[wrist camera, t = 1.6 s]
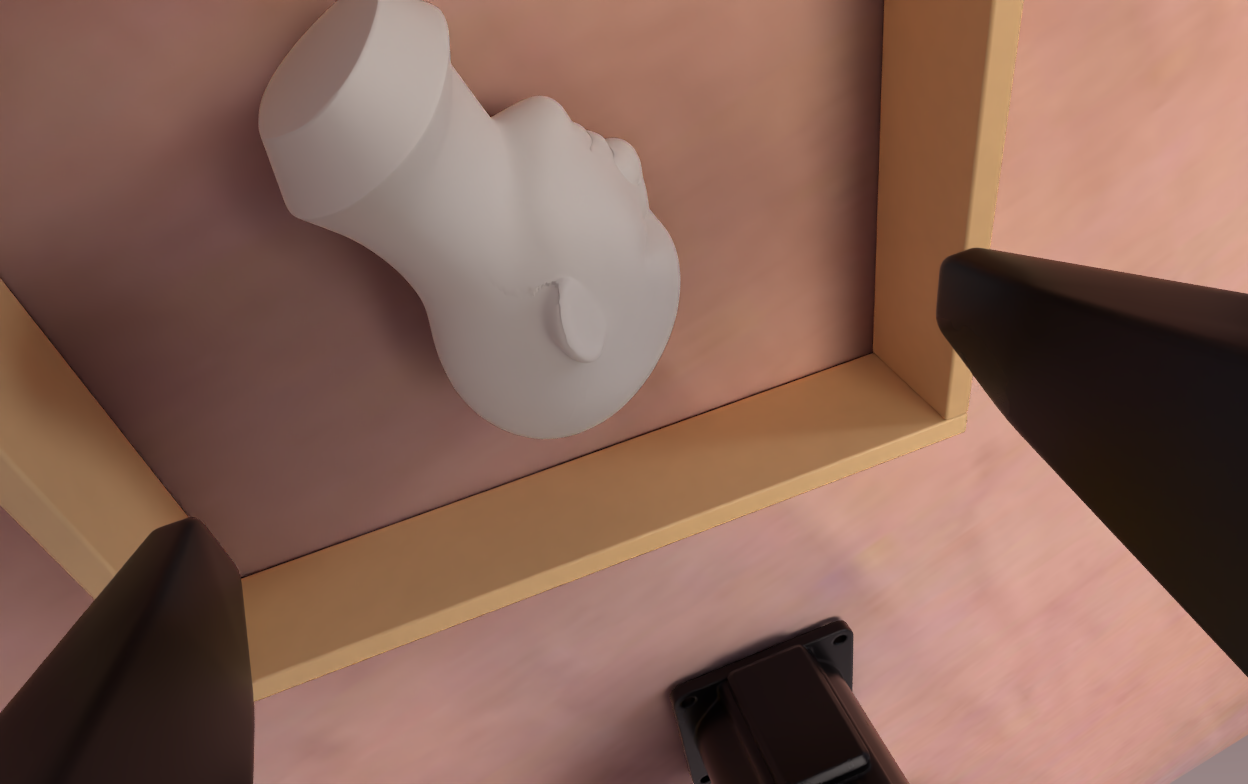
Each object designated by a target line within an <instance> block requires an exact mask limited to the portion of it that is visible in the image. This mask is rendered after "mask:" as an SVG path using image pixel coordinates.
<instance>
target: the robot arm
mask: <svg viewBox="0 0 1248 784" xmlns="http://www.w3.org/2000/svg"><path fill="white" fill-rule="evenodd" d="M936 320H937V324H938V327H939V329H940V331H941V333H942V334H943V336H944V337H945V338H946V340H947V341H948V342H949V344H950V345H951V346H952V348H953V349H954V350H955V352H956V353H957V354H958V356H959V357H960V358H961V360H962V361H963V362H964V364H965V365H966V366H967V368H968V369H969V370H970V372H971V373H972V374H973V376H974V377H975V378H976V380H977V381H978V382H979V384H980V385H981V386H982V388H983V389H984V390H985V392H986V393H987V394H988V396H989V397H990V398H991V400H992V401H993V402H994V404H995V405H996V406H997V408H998V409H999V410H1000V411H1001V413H1002V414H1003V415H1004V416H1005V417H1006V419H1007V420H1008V421H1009V422H1010V423H1011V425H1012V426H1013V427H1014V428H1015V429H1016V430H1017V431H1018V432H1019V434H1020V435H1021V436H1022V437H1023V438H1024V439H1025V440H1026V441H1027V442H1028V443H1029V444H1030V445H1031V446H1032V448H1033V449H1034V450H1035V451H1036V452H1037V453H1038V454H1039V455H1040V456H1041V457H1042V458H1043V459H1044V460H1045V461H1046V462H1047V464H1048V465H1049V466H1050V467H1051V468H1052V469H1053V470H1054V471H1055V472H1056V473H1057V474H1058V475H1059V476H1060V477H1061V478H1062V480H1063V481H1064V482H1065V483H1066V484H1067V485H1068V486H1069V487H1070V488H1071V489H1072V490H1073V491H1074V492H1075V493H1076V494H1077V496H1078V497H1079V498H1080V499H1081V500H1082V501H1083V502H1084V503H1085V504H1086V505H1087V506H1088V507H1089V508H1090V509H1091V510H1092V512H1093V513H1094V514H1095V515H1096V516H1097V517H1098V518H1099V519H1100V520H1101V521H1102V522H1103V523H1104V524H1105V525H1106V526H1107V528H1108V529H1109V530H1110V531H1111V532H1112V533H1113V534H1114V535H1115V536H1116V537H1117V538H1118V539H1119V540H1120V541H1121V542H1122V544H1123V545H1124V546H1125V547H1126V548H1127V549H1128V550H1129V551H1130V552H1131V553H1132V554H1133V555H1134V556H1135V557H1136V558H1137V560H1138V561H1139V562H1140V563H1141V564H1142V565H1143V566H1144V567H1145V568H1146V569H1147V570H1148V571H1149V572H1150V573H1151V574H1152V576H1153V577H1154V578H1155V579H1156V580H1157V581H1158V582H1159V583H1160V584H1161V585H1162V586H1163V587H1164V588H1165V589H1166V590H1167V592H1168V593H1169V594H1170V595H1171V596H1172V597H1173V598H1174V599H1175V600H1176V601H1177V602H1178V603H1179V604H1180V605H1181V606H1182V608H1183V609H1184V610H1185V611H1186V612H1187V613H1188V614H1189V615H1190V616H1191V617H1192V618H1193V619H1194V620H1195V621H1196V622H1197V624H1198V625H1199V626H1200V627H1201V628H1202V629H1203V630H1204V631H1205V632H1206V633H1207V634H1208V635H1209V636H1210V637H1211V638H1212V640H1213V641H1214V642H1215V643H1216V644H1217V645H1218V646H1219V647H1220V648H1221V649H1222V650H1223V651H1224V652H1225V653H1226V654H1227V656H1228V657H1229V658H1230V659H1231V660H1232V661H1233V662H1234V663H1235V664H1236V665H1237V666H1238V667H1239V668H1240V669H1241V670H1242V672H1243V673H1244V674H1245V675H1246V676H1247V677H1248V294H1246V293H1240V292H1234V291H1228V290H1222V289H1217V288H1211V287H1205V286H1199V285H1193V284H1188V283H1182V282H1176V281H1170V280H1164V279H1159V278H1153V277H1147V276H1141V275H1135V274H1130V273H1124V272H1118V271H1112V270H1107V269H1101V268H1095V267H1089V266H1083V265H1078V264H1072V263H1066V262H1060V261H1054V260H1049V259H1043V258H1037V257H1031V256H1025V255H1020V254H1014V253H1008V252H1002V251H996V250H991V249H985V248H970V249H967V250H965V251H962V252H959V253H956V254H953V255H950V256H948V257H946V258H945V259H944V260H943V262H942V263H941V266H940V270H939V280H938V291H937V303H936ZM852 675H853V632H852V631H851V629H850V628H849V626H848V625H847V623H846V622H845V621H836V622H832V623H830V624H828V625H825V626H823V627H820V628H818V629H815V630H813V631H810V632H808V633H806V634H803V635H801V636H798V637H796V638H793V639H791V640H788V641H786V642H783V643H781V644H779V645H776V646H774V647H771V648H769V649H766V650H764V651H761V652H759V653H756V654H754V655H752V656H749V657H747V658H744V659H742V660H739V661H737V662H734V663H732V664H729V665H727V666H725V667H722V668H720V669H717V670H715V671H712V672H710V673H707V674H705V675H702V676H700V677H698V678H695V679H693V680H690V681H688V682H685V683H683V684H681V685H679V686H677V687H676V688H675V689H673V690H672V692H671V694H670V700H671V704H672V708H673V712H674V715H675V719H676V723H677V727H678V731H679V734H680V738H681V742H682V746H683V750H684V753H685V757H686V761H687V765H688V769H689V772H690V775H691V778H692V780H693V783H694V784H909V782H908V781H907V779H906V778H905V776H904V774H903V773H902V771H901V770H900V768H899V766H898V765H897V763H896V762H895V760H894V758H893V757H892V755H891V754H890V752H889V750H888V749H887V747H886V746H885V744H884V742H883V741H882V739H881V737H880V736H879V734H878V733H877V731H876V729H875V728H874V726H873V725H872V723H871V721H870V720H869V718H868V717H867V715H866V713H865V712H864V710H863V709H862V707H861V705H860V704H859V702H858V701H857V699H856V697H855V696H854V694H853V693H852ZM253 771H254V697H253V684H252V675H251V665H250V656H249V646H248V637H247V627H246V618H245V608H244V599H243V589H242V582H241V578H240V574H239V572H238V569H237V567H236V565H235V564H234V562H233V561H232V559H231V558H230V557H229V556H228V554H227V553H226V552H225V550H224V549H223V548H222V547H221V545H220V544H219V543H218V541H217V540H216V539H215V537H214V536H213V535H212V534H211V532H210V531H209V530H208V528H207V527H206V526H205V525H204V524H203V523H202V522H201V521H200V520H198V519H196V518H191V517H189V518H185V519H182V520H179V521H176V522H173V523H170V524H168V525H165V526H162V527H159V528H157V529H155V530H153V531H152V532H151V533H150V534H149V535H148V537H147V538H146V539H145V540H144V541H143V543H142V544H141V545H140V546H139V547H138V549H137V550H136V551H135V552H134V553H133V555H132V556H131V557H130V558H129V559H128V561H127V562H126V563H125V564H124V565H123V567H122V568H121V569H120V570H119V571H118V573H117V574H116V575H115V576H114V577H113V579H112V580H111V581H110V582H109V583H108V585H107V586H106V587H105V588H104V589H103V591H102V592H101V593H100V594H99V595H98V597H97V598H96V599H95V600H94V601H93V603H92V604H91V605H90V606H89V607H88V609H87V610H86V611H85V612H84V613H83V615H82V616H81V617H80V618H79V619H78V621H77V622H76V623H75V624H74V625H73V627H72V628H71V629H70V630H69V631H68V633H67V634H66V635H65V636H64V637H63V639H62V640H61V641H60V642H59V643H58V645H57V646H56V647H55V648H54V649H53V651H52V652H51V653H50V654H49V655H48V657H47V658H46V659H45V660H44V661H43V663H42V664H41V665H40V666H39V667H38V669H37V670H36V671H35V672H34V673H33V675H32V676H31V677H30V678H29V679H28V681H27V682H26V683H25V684H24V685H23V687H22V688H21V689H20V690H19V691H18V693H17V694H16V695H15V696H14V697H13V699H12V700H11V701H10V702H9V703H8V705H7V706H6V707H5V708H4V709H3V711H2V712H1V713H0V784H253Z"/></svg>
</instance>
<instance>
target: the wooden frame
mask: <svg viewBox="0 0 1248 784" xmlns="http://www.w3.org/2000/svg"><path fill="white" fill-rule="evenodd" d="M1023 3H1024V0H884V26H883V56H882V87H881V118H880V148H879V179H878V210H877V240H876V271H875V301H874V332H873V352H874V353H872V354H869V355H866V356H863V357H861V358H858V359H855V360H852V361H849V362H847V363H844V364H841V365H838V366H835V367H833V368H830V369H827V370H824V371H821V372H819V373H816V374H813V375H810V376H807V377H805V378H802V379H799V380H796V381H793V382H791V383H788V384H785V385H782V386H779V387H777V388H774V389H771V390H768V391H765V392H763V393H760V394H757V395H754V396H751V397H749V398H746V399H743V400H740V401H737V402H735V403H732V404H729V405H726V406H723V407H721V408H718V409H715V410H712V411H709V412H707V413H704V414H701V415H698V416H695V417H693V418H690V419H687V420H684V421H681V422H679V423H676V424H673V425H670V426H667V427H665V428H662V429H659V430H656V431H653V432H651V433H648V434H645V435H642V436H639V437H637V438H634V439H631V440H628V441H625V442H623V443H620V444H617V445H614V446H611V447H609V448H606V449H603V450H600V451H597V452H595V453H592V454H589V455H586V456H583V457H581V458H578V459H575V460H572V461H569V462H567V463H564V464H561V465H558V466H555V467H553V468H550V469H547V470H544V471H541V472H539V473H536V474H533V475H530V476H527V477H525V478H522V479H519V480H516V481H513V482H511V483H508V484H505V485H502V486H499V487H497V488H494V489H491V490H488V491H485V492H483V493H480V494H477V495H474V496H471V497H469V498H466V499H463V500H460V501H457V502H455V503H452V504H449V505H446V506H443V507H441V508H438V509H435V510H432V511H429V512H427V513H424V514H421V515H418V516H415V517H413V518H410V519H407V520H404V521H401V522H399V523H396V524H393V525H390V526H387V527H385V528H382V529H379V530H376V531H373V532H371V533H368V534H365V535H362V536H359V537H357V538H354V539H351V540H348V541H345V542H343V543H340V544H337V545H334V546H331V547H329V548H326V549H323V550H320V551H317V552H315V553H312V554H309V555H306V556H303V557H301V558H298V559H295V560H292V561H289V562H287V563H284V564H281V565H278V566H275V567H273V568H270V569H267V570H264V571H261V572H259V573H256V574H253V575H250V576H247V577H245V578H242V579H241V582H242V589H243V599H244V608H245V618H246V627H247V637H248V646H249V656H250V665H251V675H252V684H253V697H254V702H255V701H258V700H260V699H263V698H266V697H268V696H271V695H274V694H276V693H279V692H281V691H284V690H287V689H289V688H292V687H295V686H297V685H300V684H303V683H305V682H308V681H310V680H313V679H316V678H318V677H321V676H324V675H326V674H329V673H331V672H334V671H337V670H339V669H342V668H345V667H347V666H350V665H353V664H355V663H358V662H360V661H363V660H366V659H368V658H371V657H374V656H376V655H379V654H381V653H384V652H387V651H389V650H392V649H395V648H397V647H400V646H403V645H405V644H408V643H410V642H413V641H416V640H418V639H421V638H424V637H426V636H429V635H431V634H434V633H437V632H439V631H442V630H445V629H447V628H450V627H453V626H455V625H458V624H460V623H463V622H466V621H468V620H471V619H474V618H476V617H479V616H482V615H484V614H487V613H489V612H492V611H495V610H497V609H500V608H503V607H505V606H508V605H510V604H513V603H516V602H518V601H521V600H524V599H526V598H529V597H532V596H534V595H537V594H539V593H542V592H545V591H547V590H550V589H553V588H555V587H558V586H560V585H563V584H566V583H568V582H571V581H574V580H576V579H579V578H582V577H584V576H587V575H589V574H592V573H595V572H597V571H600V570H603V569H605V568H608V567H611V566H613V565H616V564H618V563H621V562H624V561H626V560H629V559H632V558H634V557H637V556H639V555H642V554H645V553H647V552H650V551H653V550H655V549H658V548H661V547H663V546H666V545H668V544H671V543H674V542H676V541H679V540H682V539H684V538H687V537H689V536H692V535H695V534H697V533H700V532H703V531H705V530H708V529H711V528H713V527H716V526H718V525H721V524H724V523H726V522H729V521H732V520H734V519H737V518H739V517H742V516H745V515H747V514H750V513H753V512H755V511H758V510H761V509H763V508H766V507H768V506H771V505H774V504H776V503H779V502H782V501H784V500H787V499H790V498H792V497H795V496H797V495H800V494H803V493H805V492H808V491H811V490H813V489H816V488H818V487H821V486H824V485H826V484H829V483H832V482H834V481H837V480H840V479H842V478H845V477H847V476H850V475H853V474H855V473H858V472H861V471H863V470H866V469H868V468H871V467H874V466H876V465H879V464H882V463H884V462H887V461H890V460H892V459H895V458H897V457H900V456H903V455H905V454H908V453H911V452H913V451H916V450H919V449H921V448H924V447H926V446H929V445H932V444H934V443H937V442H940V441H942V440H945V439H947V438H950V437H953V436H955V435H958V434H961V433H963V432H965V429H966V422H967V413H966V412H967V411H968V406H969V399H970V391H971V384H972V377H973V374H972V373H971V372H970V370H969V369H968V368H967V366H966V365H965V364H964V362H963V361H962V360H961V358H960V357H959V356H958V354H957V353H956V352H955V350H954V349H953V348H952V346H951V345H950V344H949V342H948V341H947V340H946V338H945V337H944V336H943V334H942V333H941V331H940V329H939V327H938V324H937V320H936V303H937V291H938V280H939V270H940V266H941V263H942V262H943V260H944V259H945V258H946V257H948V256H950V255H953V254H956V253H959V252H962V251H965V250H967V249H970V248H985V249H990V245H991V237H992V230H993V223H994V215H995V208H996V201H997V193H998V186H999V179H1000V171H1001V164H1002V157H1003V149H1004V142H1005V135H1006V127H1007V120H1008V113H1009V105H1010V98H1011V91H1012V83H1013V76H1014V69H1015V61H1016V54H1017V47H1018V39H1019V32H1020V25H1021V17H1022V10H1023ZM0 506H1V507H2V508H3V509H4V510H5V511H6V512H7V513H8V514H9V515H10V516H11V517H12V518H13V519H14V520H15V521H16V522H17V523H18V524H19V525H20V526H21V527H22V528H23V529H24V530H25V531H26V532H27V533H28V534H29V535H30V536H31V537H32V538H33V539H34V540H35V541H36V542H37V543H38V544H39V545H40V546H41V547H42V548H43V549H44V550H45V551H46V552H47V553H48V554H49V555H50V556H51V557H52V558H53V559H54V560H55V561H56V562H57V563H58V564H59V565H60V566H61V567H62V568H63V569H64V570H65V571H66V572H67V573H68V574H69V575H70V576H71V577H72V578H73V579H74V580H75V581H76V582H77V583H78V584H79V585H80V586H81V587H82V588H83V589H84V590H85V591H86V592H87V593H88V594H89V595H90V596H91V597H92V598H93V599H94V600H95V599H96V598H97V597H98V595H99V594H100V593H101V592H102V591H103V589H104V588H105V587H106V586H107V585H108V583H109V582H110V581H111V580H112V579H113V577H114V576H115V575H116V574H117V573H118V571H119V570H120V569H121V568H122V567H123V565H124V564H125V563H126V562H127V561H128V559H129V558H130V557H131V556H132V555H133V553H134V552H135V551H136V550H137V549H138V547H139V546H140V545H141V544H142V543H143V541H144V540H145V539H146V538H147V537H148V535H149V534H150V533H151V532H152V531H153V530H155V529H157V528H159V527H162V526H165V525H168V524H170V523H173V522H176V521H179V520H182V519H185V518H188V516H187V515H186V514H185V512H184V511H183V510H182V509H181V507H180V506H179V505H178V504H177V502H176V501H175V500H174V498H173V497H172V496H171V495H170V493H169V492H168V491H167V490H166V488H165V487H164V486H163V484H162V483H161V482H160V481H159V479H158V478H157V477H156V476H155V474H154V473H153V472H152V470H151V469H150V468H149V467H148V465H147V464H146V463H145V462H144V460H143V459H142V458H141V456H140V455H139V454H138V453H137V451H136V450H135V449H134V448H133V446H132V445H131V444H130V443H129V441H128V440H127V439H126V437H125V436H124V435H123V434H122V432H121V431H120V430H119V429H118V427H117V426H116V425H115V423H114V422H113V421H112V420H111V418H110V417H109V416H108V415H107V413H106V412H105V411H104V409H103V408H102V407H101V406H100V404H99V403H98V402H97V401H96V399H95V398H94V397H93V395H92V394H91V393H90V392H89V390H88V389H87V388H86V387H85V385H84V384H83V383H82V382H81V380H80V379H79V378H78V376H77V375H76V374H75V373H74V371H73V370H72V369H71V368H70V366H69V365H68V364H67V362H66V361H65V360H64V359H63V357H62V356H61V355H60V354H59V352H58V351H57V350H56V348H55V347H54V346H53V345H52V343H51V342H50V341H49V340H48V338H47V337H46V336H45V334H44V333H43V332H42V331H41V329H40V328H39V327H38V326H37V324H36V323H35V322H34V321H33V319H32V318H31V317H30V315H29V314H28V313H27V312H26V310H25V309H24V308H23V307H22V305H21V304H20V303H19V301H18V300H17V299H16V298H15V296H14V295H13V294H12V293H11V291H10V290H9V289H8V287H7V286H6V285H5V284H4V282H3V281H2V280H1V279H0Z"/></svg>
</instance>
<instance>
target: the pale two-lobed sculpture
mask: <svg viewBox="0 0 1248 784" xmlns="http://www.w3.org/2000/svg"><path fill="white" fill-rule="evenodd" d="M259 133H260V136H261V139H262V142H263V144H264V147H265V150H266V153H267V155H268V158H269V161H270V163H271V166H272V169H273V172H274V174H275V177H276V180H277V183H278V185H279V188H280V191H281V194H282V196H283V199H284V202H285V205H286V207H287V209H288V210H289V212H290V213H291V214H292V215H293V216H295V217H296V218H299V219H301V220H304V221H306V222H309V223H312V224H314V225H317V226H320V227H323V228H325V229H328V230H331V231H333V232H336V233H338V234H341V235H343V236H345V237H348V238H350V239H352V240H354V241H356V242H358V243H359V244H361V245H363V246H365V247H366V248H368V249H369V250H371V251H372V252H374V253H375V254H377V255H378V256H380V257H381V258H382V259H383V260H385V261H386V262H387V263H388V264H390V265H391V266H392V267H393V268H394V269H395V270H397V271H398V272H399V273H400V274H401V275H402V276H403V277H404V278H405V279H406V280H407V281H408V283H409V284H410V285H411V286H412V287H413V289H414V290H415V291H416V293H417V294H418V295H419V297H420V299H421V300H422V302H423V304H424V307H425V309H426V312H427V315H428V319H429V323H430V328H431V332H432V336H433V340H434V344H435V347H436V350H437V353H438V356H439V359H440V361H441V364H442V366H443V368H444V370H445V372H446V375H447V376H448V378H449V380H450V382H451V384H452V385H453V387H454V388H455V390H456V391H457V393H458V394H459V395H460V397H461V398H462V399H463V400H464V401H465V402H466V404H467V405H468V406H469V407H470V408H471V409H473V410H474V411H475V412H476V413H477V414H478V415H480V416H481V417H482V418H483V419H485V420H486V421H488V422H490V423H491V424H493V425H495V426H497V427H499V428H501V429H503V430H505V431H507V432H510V433H513V434H516V435H519V436H524V437H528V438H535V439H557V438H563V437H569V436H572V435H575V434H579V433H581V432H584V431H586V430H588V429H591V428H593V427H595V426H596V425H598V424H600V423H602V422H604V421H605V420H607V419H608V418H610V417H611V416H613V415H614V414H615V413H616V412H617V411H619V410H620V409H621V408H622V407H623V406H624V405H625V404H626V403H627V402H628V401H629V400H630V399H631V398H632V397H633V396H634V395H635V394H636V393H637V391H638V390H639V389H640V388H641V386H642V385H643V384H644V382H645V381H646V380H647V378H648V377H649V375H650V374H651V372H652V371H653V369H654V368H655V366H656V364H657V362H658V361H659V359H660V357H661V355H662V353H663V351H664V349H665V346H666V344H667V342H668V340H669V337H670V334H671V332H672V329H673V326H674V322H675V318H676V315H677V310H678V304H679V296H680V266H679V260H678V255H677V251H676V248H675V245H674V242H673V240H672V238H671V236H670V234H669V233H668V231H667V230H666V228H665V227H664V226H663V225H662V223H661V222H660V221H659V219H658V218H657V217H656V216H655V215H654V214H653V212H652V211H651V210H650V209H649V203H648V195H647V190H646V186H645V182H644V179H643V174H642V166H641V162H640V159H639V156H638V154H637V152H636V150H635V149H634V148H633V147H632V145H631V144H629V143H628V142H627V141H625V140H623V139H620V138H606V139H604V138H603V137H602V136H601V135H600V134H598V133H595V132H593V131H589V130H585V129H584V128H583V127H582V126H581V125H580V124H578V123H576V122H573V121H572V120H571V119H570V118H569V116H568V114H567V113H566V111H565V110H564V108H563V107H562V106H561V105H560V104H559V103H558V102H557V101H555V100H554V99H552V98H550V97H547V96H541V95H538V96H532V97H529V98H526V99H523V100H521V101H519V102H517V103H515V104H513V105H511V106H509V107H508V108H506V109H504V110H503V111H501V112H499V113H497V114H496V115H494V116H492V117H490V116H489V115H488V114H487V112H486V111H485V110H484V108H483V107H482V106H481V104H480V103H479V101H478V100H477V99H476V97H475V96H474V95H473V93H472V92H471V90H470V89H469V88H468V86H467V85H466V84H465V82H464V81H463V79H462V78H461V77H460V75H459V74H458V73H457V71H456V70H455V69H454V67H453V66H452V64H451V58H450V40H449V29H448V24H447V21H446V19H445V16H444V14H443V13H442V11H441V10H440V9H439V8H437V7H436V6H434V5H432V4H430V3H427V2H424V1H422V0H337V1H336V2H335V3H334V4H333V5H332V6H331V7H330V8H329V9H328V10H327V11H326V12H325V13H323V14H322V15H321V16H320V17H319V19H318V20H317V21H316V22H315V23H314V24H313V25H312V26H311V27H310V28H309V29H308V30H307V31H306V32H305V33H304V35H303V36H302V37H301V38H300V39H299V40H298V41H297V43H296V44H295V45H294V46H293V47H292V49H291V50H290V51H289V52H288V54H287V55H286V56H285V58H284V59H283V61H282V62H281V63H280V65H279V66H278V68H277V69H276V71H275V72H274V74H273V76H272V77H271V79H270V81H269V83H268V85H267V87H266V89H265V91H264V94H263V97H262V100H261V103H260V108H259Z"/></svg>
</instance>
